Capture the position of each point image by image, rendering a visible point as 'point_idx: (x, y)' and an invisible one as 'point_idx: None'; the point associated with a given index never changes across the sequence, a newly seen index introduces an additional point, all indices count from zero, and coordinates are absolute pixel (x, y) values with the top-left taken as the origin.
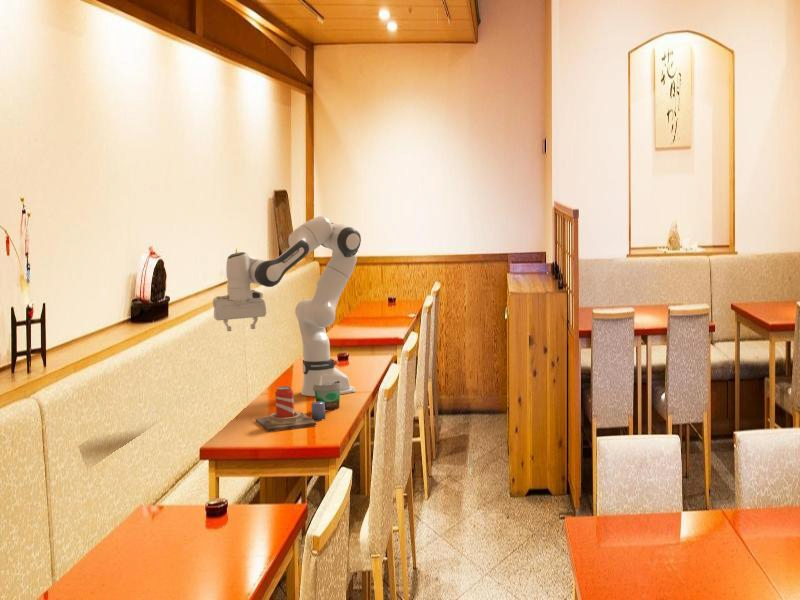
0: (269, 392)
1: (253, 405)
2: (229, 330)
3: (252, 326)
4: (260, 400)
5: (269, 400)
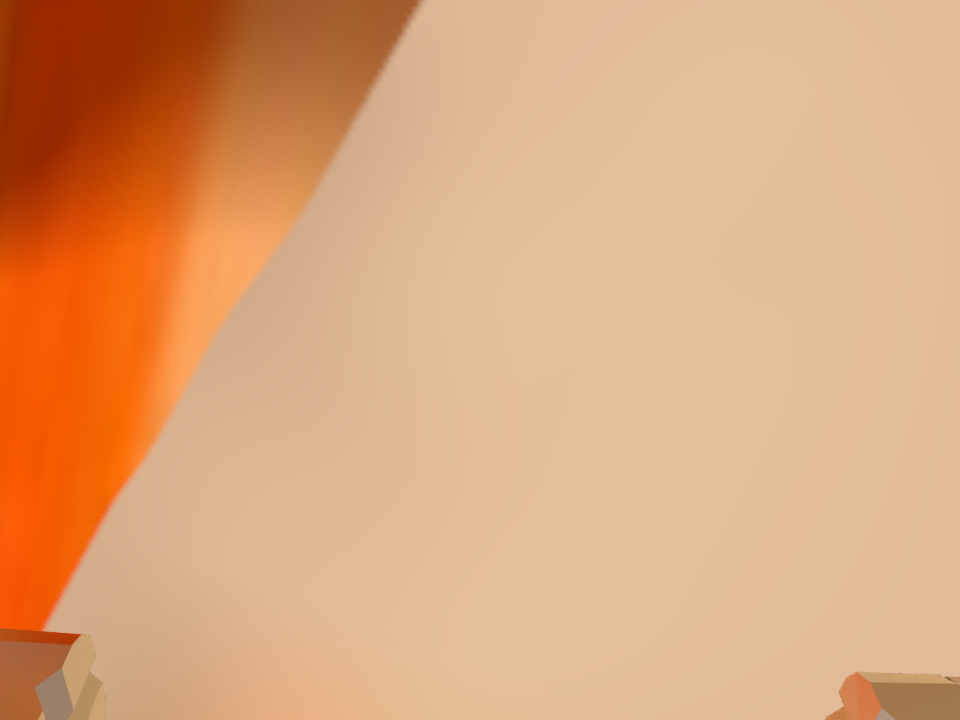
0: (133, 457)
1: (367, 87)
2: (936, 683)
3: (3, 704)
4: (259, 243)
5: (184, 198)
